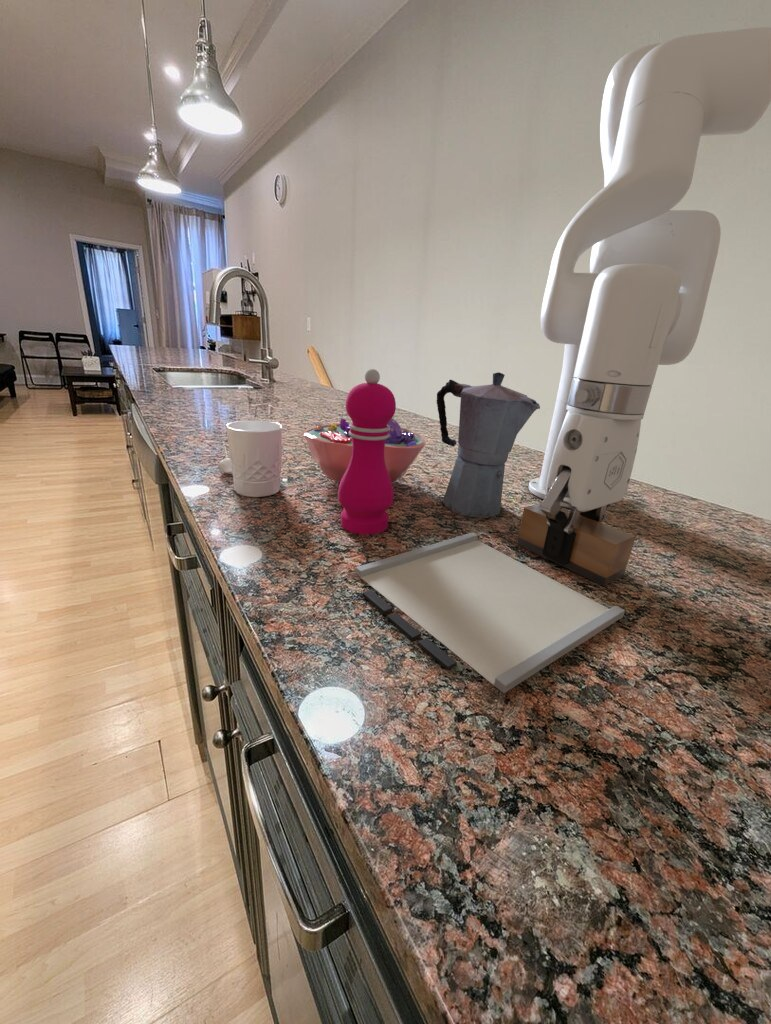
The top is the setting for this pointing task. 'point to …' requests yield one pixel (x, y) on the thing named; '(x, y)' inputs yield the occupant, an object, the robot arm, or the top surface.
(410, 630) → the stroke
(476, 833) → the top surface
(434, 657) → the stroke
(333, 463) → the cell model
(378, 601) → the stroke
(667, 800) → the top surface
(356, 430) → the pepper mill
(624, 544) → the eraser
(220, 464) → the macaroon
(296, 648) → the top surface
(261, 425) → the white cup
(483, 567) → the memo board
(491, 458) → the moka pot
